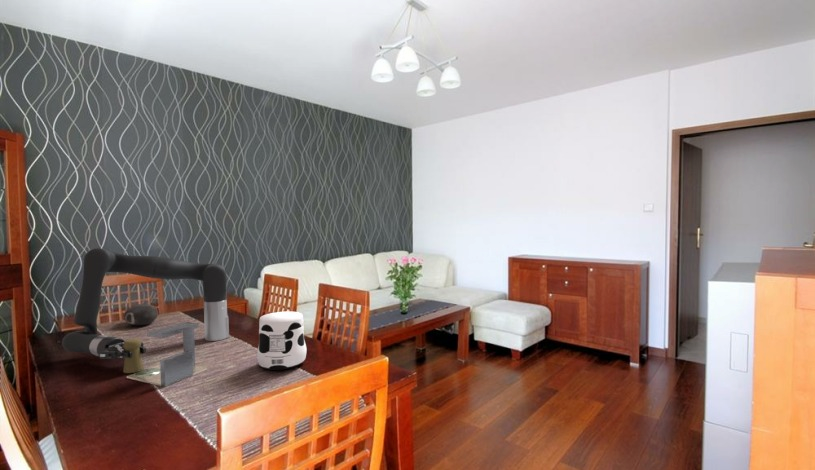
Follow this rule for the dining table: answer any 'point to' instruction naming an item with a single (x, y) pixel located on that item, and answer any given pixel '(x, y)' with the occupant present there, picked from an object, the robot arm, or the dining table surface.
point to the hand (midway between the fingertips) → (137, 352)
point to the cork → (133, 356)
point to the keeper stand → (172, 358)
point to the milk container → (281, 340)
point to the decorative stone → (140, 314)
